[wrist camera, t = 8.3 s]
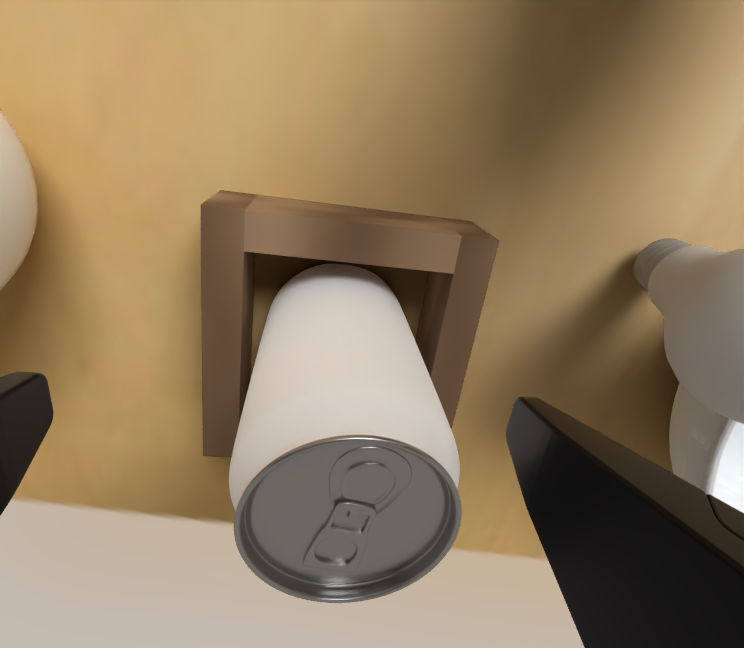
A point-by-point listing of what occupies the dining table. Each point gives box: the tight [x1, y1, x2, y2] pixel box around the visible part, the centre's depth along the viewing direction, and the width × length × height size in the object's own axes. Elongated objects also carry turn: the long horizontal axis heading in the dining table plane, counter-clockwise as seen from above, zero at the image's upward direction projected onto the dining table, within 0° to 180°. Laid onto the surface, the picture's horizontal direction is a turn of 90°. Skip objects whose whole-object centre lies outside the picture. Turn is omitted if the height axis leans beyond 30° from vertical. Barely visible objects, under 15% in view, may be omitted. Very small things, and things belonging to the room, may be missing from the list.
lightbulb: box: [634, 239, 744, 424], centre depth 17 cm, size 6×6×11 cm
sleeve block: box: [201, 190, 499, 457], centre depth 20 cm, size 11×11×4 cm
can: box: [229, 264, 461, 603], centre depth 17 cm, size 6×6×12 cm
